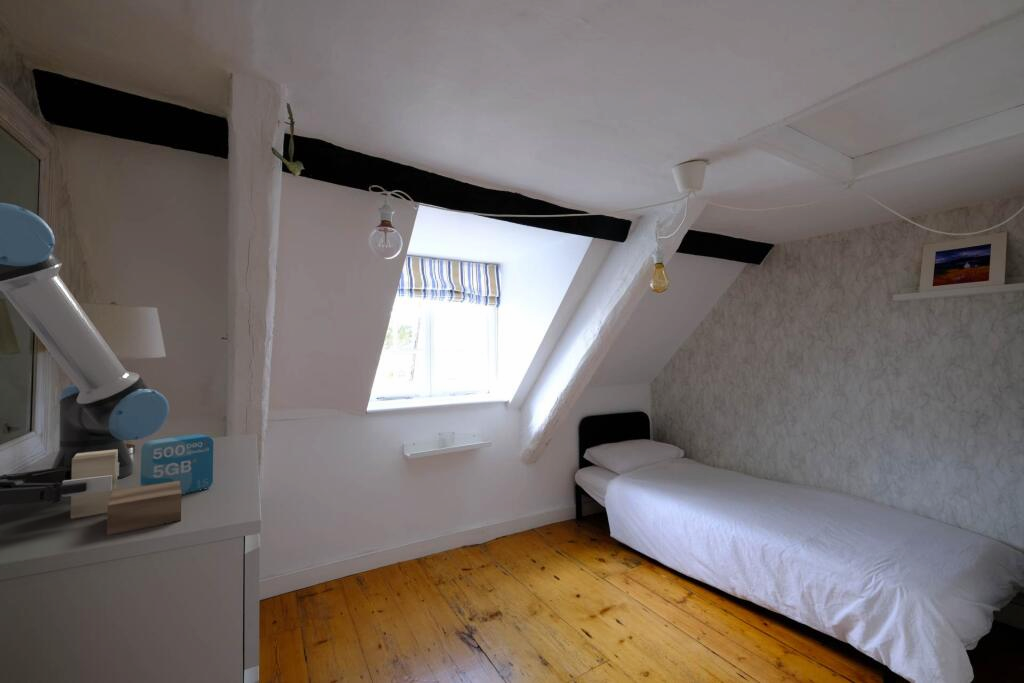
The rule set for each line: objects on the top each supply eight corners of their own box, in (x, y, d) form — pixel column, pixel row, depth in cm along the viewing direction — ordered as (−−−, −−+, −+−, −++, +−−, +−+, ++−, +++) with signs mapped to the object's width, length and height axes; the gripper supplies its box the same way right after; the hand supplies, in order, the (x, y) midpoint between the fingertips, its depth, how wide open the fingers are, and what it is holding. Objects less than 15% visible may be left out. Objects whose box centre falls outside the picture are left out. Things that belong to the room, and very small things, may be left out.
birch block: (75, 509, 86) (76, 453, 86) (116, 502, 89) (117, 449, 90) (70, 518, 81) (71, 459, 81) (114, 511, 85) (115, 454, 85)
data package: (146, 502, 90) (147, 444, 90) (139, 498, 92) (140, 441, 92) (213, 487, 99) (214, 435, 99) (205, 484, 102) (206, 432, 102)
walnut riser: (112, 517, 82) (112, 490, 82) (179, 505, 88) (179, 480, 88) (107, 534, 74) (107, 505, 74) (181, 520, 80) (181, 493, 80)
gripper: (-33, 499, 83) (121, 480, 96) (-95, 543, 64) (106, 511, 77) (-31, 460, 83) (122, 446, 96) (-92, 491, 64) (108, 469, 77)
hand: (115, 475), depth 87 cm, fingers open, 11 cm apart
